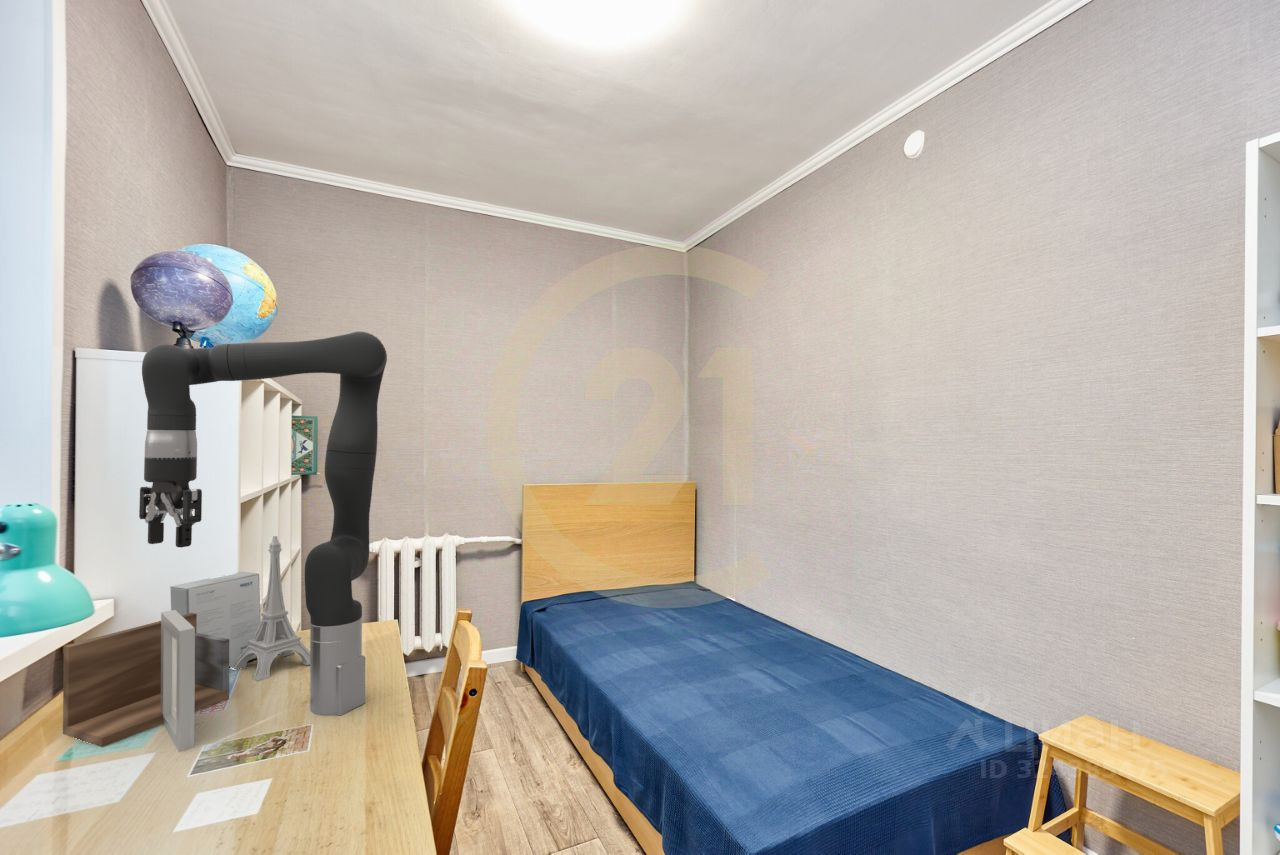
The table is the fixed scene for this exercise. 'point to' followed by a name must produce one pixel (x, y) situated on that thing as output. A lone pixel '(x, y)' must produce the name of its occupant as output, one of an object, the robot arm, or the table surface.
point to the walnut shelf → (132, 682)
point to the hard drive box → (222, 608)
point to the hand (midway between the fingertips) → (169, 544)
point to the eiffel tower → (272, 626)
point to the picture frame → (178, 678)
